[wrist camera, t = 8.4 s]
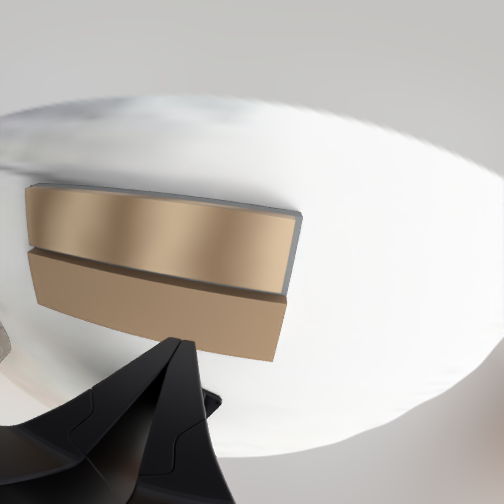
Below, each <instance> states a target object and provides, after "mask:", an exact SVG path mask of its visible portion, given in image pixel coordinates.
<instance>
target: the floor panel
mask: <svg viewBox="0 0 504 504" xmlns="http://www.w3.org/2000/svg"><path fill="white" fill-rule="evenodd" d="M33 186H39V187H56V188H70V189H83V190H96V191H107V192H118V193H128V194H138V195H147V196H156V197H165V198H173V199H182V200H190V201H197V202H205V203H213V204H220V205H227V206H234V207H241V208H248V209H254V210H261V211H267V212H273V213H280V214H286V215H292V216H294V217H295V220H296V221H295V226H294V231H293V236H292V241H291V247H290V252H289V257H288V262H287V267H286V271H285V276H284V281H283V286H282V291H281V293H276V292H269V291H262V290H256V289H249V288H243V287H237V286H231V285H225V284H219V283H213V282H207V281H201V280H195V279H190V278H184V277H178V276H173V275H168V274H162V273H157V272H152V271H146V270H141V269H136V268H131V267H126V266H121V265H116V264H111V263H107V262H102V261H97V260H92V259H88V258H83V257H79V256H74V255H70V254H65V253H61V252H57V251H52V250H48V249H44V248H40V247H35V248H34V249H32V250H30V251H29V252H27V253H28V259H29V265H30V270H31V276H32V280H33V285H34V290H35V294H36V298H37V302H38V304H40V305H42V306H45V307H47V308H50V309H53V310H56V311H58V312H61V313H64V314H67V315H70V316H73V317H76V318H79V319H82V320H85V321H88V322H91V323H94V324H97V325H101V326H104V327H107V328H111V329H114V330H117V331H121V332H125V333H128V334H132V335H136V336H140V337H143V338H147V339H151V340H155V341H160V342H162V341H163V340H165V339H166V338H168V337H175V338H180V339H181V340H183V339H185V340H191V341H194V342H195V344H196V350H201V351H206V352H212V353H217V354H223V355H229V356H235V357H241V358H248V359H255V360H262V361H269V362H273V359H274V355H275V351H276V347H277V343H278V339H279V335H280V331H281V327H282V323H283V319H284V315H285V310H286V306H287V298H286V295H287V291H288V286H289V282H290V277H291V273H292V268H293V264H294V259H295V254H296V249H297V244H298V239H299V235H300V230H301V224H302V219H303V216H302V214H301V212H295V211H289V210H283V209H277V208H271V207H265V206H258V205H251V204H245V203H238V202H231V201H224V200H216V199H209V198H201V197H193V196H185V195H177V194H168V193H159V192H150V191H140V190H130V189H119V188H107V187H95V186H81V185H66V184H48V183H38V184H35V185H31V186H30V187H33Z"/></svg>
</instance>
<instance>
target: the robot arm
mask: <svg viewBox="0 0 504 504" xmlns="http://www.w3.org/2000/svg"><path fill="white" fill-rule="evenodd" d="M91 389H92V390H91ZM91 389H88V390H87V391H85V392H84V393H82V394H80V395H79V396H77V397H75V398H74V399H72V400H70V401H69V402H67V403H65V404H63V405H61V406H59V407H57V408H55V409H53V410H51V411H48V412H46V413H44V414H42V415H40V416H38V417H36V418H33V419H31V420H29V421H26V422H24V423H21V424H18V425H13V426H0V504H236V503H235V500H234V498H233V496H232V494H231V492H230V490H229V487H228V485H227V483H226V481H225V478H224V476H223V474H222V471H221V469H220V466H219V464H218V461H217V458H216V455H215V453H214V450H213V447H212V443H211V439H210V434H209V429H208V424H207V418H208V417H209V416H210V415H211V414H212V413H213V412H214V411H215V410H216V409H217V408H218V407H219V406H220V405H221V404H222V399H221V398H220V397H218V396H216V395H214V394H211V393H209V392H207V391H205V390H203V389H202V388H201V381H200V375H199V367H198V360H197V352H196V344H195V342H194V341H191V340H185V339H183V340H181V339H180V338H175V337H168V338H166V339H165V340H163V341H162V342H160V343H159V344H157V345H156V346H154V347H153V348H151V349H150V350H148V351H147V352H145V353H144V354H142V355H141V356H139V357H138V358H136V359H135V360H133V361H132V362H130V363H129V364H127V365H126V366H124V367H122V368H121V369H119V370H118V371H116V372H115V373H113V374H112V375H110V376H109V377H107V378H106V379H104V380H102V381H101V382H99V383H98V384H96V385H95V386H93V387H92V388H91Z"/></svg>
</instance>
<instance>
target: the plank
mask: <svg viewBox="0 0 504 504" xmlns="http://www.w3.org/2000/svg"><path fill="white" fill-rule="evenodd" d="M25 199H26V216H27V228H28V237H29V245H31V246H35V247H40V248H44V249H48V250H52V251H57V252H61V253H65V254H70V255H74V256H79V257H83V258H88V259H92V260H97V261H102V262H107V263H111V264H116V265H121V266H126V267H131V268H136V269H141V270H146V271H152V272H157V273H162V274H168V275H173V276H178V277H184V278H190V279H195V280H201V281H207V282H213V283H219V284H225V285H231V286H237V287H243V288H249V289H256V290H262V291H269V292H276V293H281V291H282V286H283V281H284V276H285V271H286V267H287V262H288V257H289V252H290V247H291V241H292V236H293V231H294V226H295V221H296V220H295V217H294V216H292V215H286V214H280V213H273V212H267V211H261V210H254V209H248V208H241V207H234V206H227V205H220V204H213V203H205V202H197V201H190V200H182V199H173V198H165V197H156V196H147V195H138V194H128V193H118V192H107V191H96V190H83V189H70V188H56V187H39V186H33V187H29V188H26V189H25Z"/></svg>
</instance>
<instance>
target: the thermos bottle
mask: <svg viewBox="0 0 504 504" xmlns="http://www.w3.org/2000/svg"><path fill="white" fill-rule="evenodd" d="M10 350H11V345H10V341H9V338H8V336H7V334H6V332H5V330H4V328H3V326H2V325H1V323H0V362H1V361H2V360H3V359H4V358H5V357H6V356H7V355H8V354H9V352H10Z"/></svg>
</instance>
